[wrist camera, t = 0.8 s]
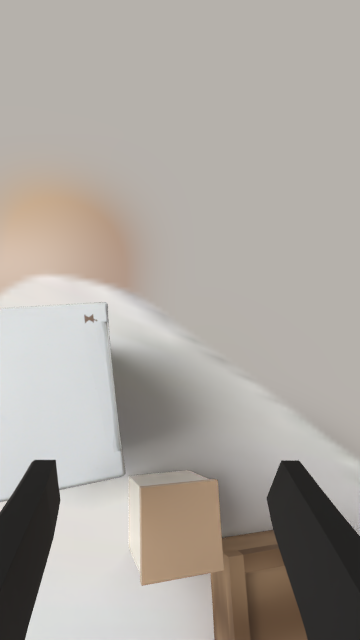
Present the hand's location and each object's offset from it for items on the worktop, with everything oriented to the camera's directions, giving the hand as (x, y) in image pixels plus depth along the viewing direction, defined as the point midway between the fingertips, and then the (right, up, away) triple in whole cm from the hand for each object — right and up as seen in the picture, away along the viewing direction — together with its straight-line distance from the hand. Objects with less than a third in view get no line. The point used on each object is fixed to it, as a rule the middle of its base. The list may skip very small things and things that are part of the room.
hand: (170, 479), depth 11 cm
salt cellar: (-1, -8, +13) cm, 15 cm away
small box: (-8, -1, +13) cm, 15 cm away
